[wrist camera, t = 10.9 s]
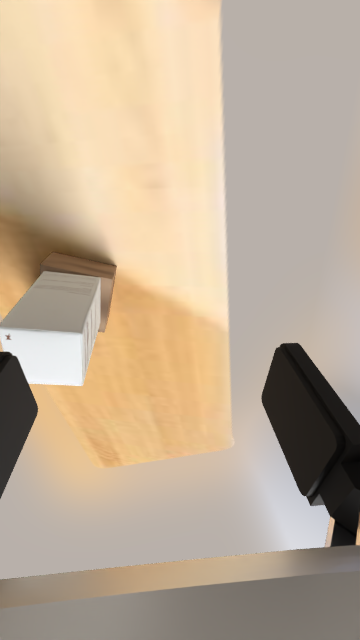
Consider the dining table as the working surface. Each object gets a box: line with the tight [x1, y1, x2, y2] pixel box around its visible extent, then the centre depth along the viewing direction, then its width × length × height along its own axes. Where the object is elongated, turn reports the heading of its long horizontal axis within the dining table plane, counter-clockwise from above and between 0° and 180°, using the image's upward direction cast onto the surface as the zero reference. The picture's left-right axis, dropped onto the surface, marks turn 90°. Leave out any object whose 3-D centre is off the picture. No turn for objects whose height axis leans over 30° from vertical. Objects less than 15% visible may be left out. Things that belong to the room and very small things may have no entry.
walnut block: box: [40, 252, 117, 332], centre depth 38 cm, size 9×9×5 cm
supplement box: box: [0, 271, 101, 386], centre depth 31 cm, size 7×7×13 cm
